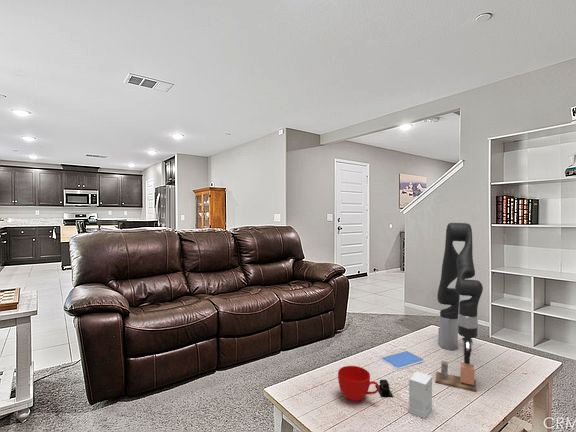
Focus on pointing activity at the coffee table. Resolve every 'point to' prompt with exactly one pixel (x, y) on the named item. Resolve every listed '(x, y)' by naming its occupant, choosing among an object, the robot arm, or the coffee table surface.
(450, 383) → the board
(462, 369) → the salmon pink cube
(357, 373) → the ceramic cup
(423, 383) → the small box
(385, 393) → the black knobbed base
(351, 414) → the coffee table surface
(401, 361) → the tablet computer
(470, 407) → the coffee table surface
